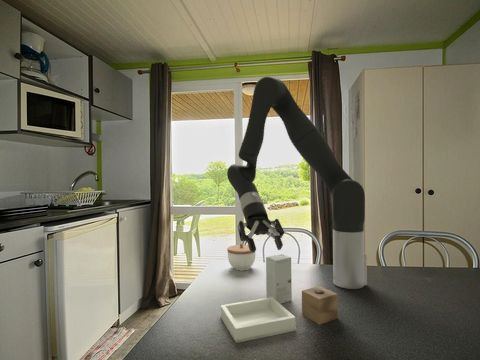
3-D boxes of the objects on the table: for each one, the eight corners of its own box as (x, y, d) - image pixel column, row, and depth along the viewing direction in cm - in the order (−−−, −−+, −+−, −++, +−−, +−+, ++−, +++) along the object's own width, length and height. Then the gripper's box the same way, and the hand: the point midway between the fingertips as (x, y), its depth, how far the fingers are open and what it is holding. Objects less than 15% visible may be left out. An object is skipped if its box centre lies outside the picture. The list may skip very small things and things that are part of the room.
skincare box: (275, 305, 79) (275, 260, 78) (265, 300, 82) (264, 256, 82) (292, 300, 82) (292, 256, 82) (282, 295, 86) (281, 253, 86)
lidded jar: (238, 262, 119) (238, 239, 119) (261, 267, 113) (261, 242, 113) (221, 269, 110) (221, 244, 110) (245, 274, 104) (244, 248, 104)
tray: (272, 308, 77) (272, 296, 77) (295, 330, 66) (295, 317, 66) (220, 317, 72) (220, 305, 72) (236, 343, 61) (235, 328, 61)
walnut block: (319, 309, 77) (319, 285, 77) (337, 318, 71) (337, 293, 71) (302, 314, 74) (301, 290, 74) (319, 324, 68) (319, 298, 68)
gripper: (235, 201, 95) (248, 245, 84) (275, 200, 100) (292, 240, 89) (230, 216, 100) (242, 258, 89) (269, 214, 105) (284, 254, 94)
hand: (267, 249), depth 89 cm, fingers open, 8 cm apart
